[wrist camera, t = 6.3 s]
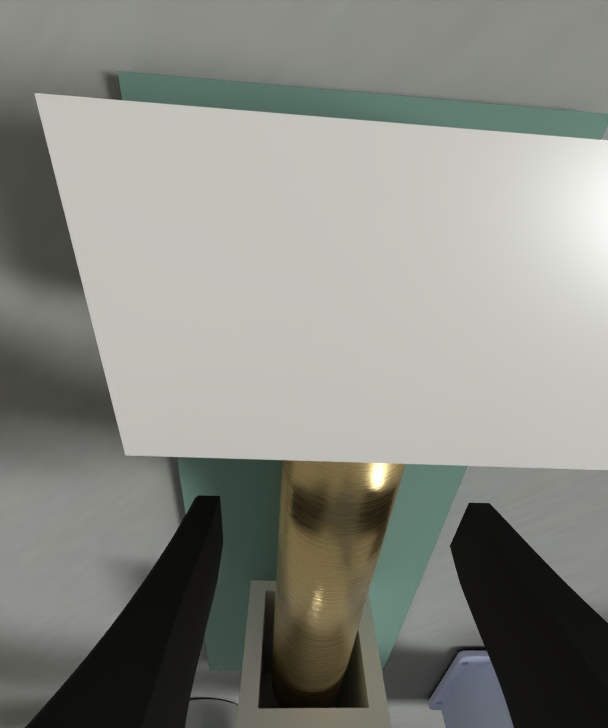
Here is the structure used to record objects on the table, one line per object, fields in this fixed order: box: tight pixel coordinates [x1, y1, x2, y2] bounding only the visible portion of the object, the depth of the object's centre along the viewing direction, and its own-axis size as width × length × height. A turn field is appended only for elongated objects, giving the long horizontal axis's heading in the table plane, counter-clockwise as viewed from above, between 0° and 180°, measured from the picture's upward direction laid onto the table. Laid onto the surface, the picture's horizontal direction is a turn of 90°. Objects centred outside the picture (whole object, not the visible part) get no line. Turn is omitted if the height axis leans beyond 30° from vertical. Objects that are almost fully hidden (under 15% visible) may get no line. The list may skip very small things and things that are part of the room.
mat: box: [118, 71, 608, 670], centre depth 17 cm, size 32×12×1 cm, turn 176°
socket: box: [34, 93, 608, 470], centre depth 8 cm, size 5×9×6 cm, turn 86°
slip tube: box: [271, 460, 406, 708], centre depth 13 cm, size 21×4×4 cm, turn 176°
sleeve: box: [236, 580, 392, 728], centre depth 19 cm, size 11×6×6 cm, turn 176°
